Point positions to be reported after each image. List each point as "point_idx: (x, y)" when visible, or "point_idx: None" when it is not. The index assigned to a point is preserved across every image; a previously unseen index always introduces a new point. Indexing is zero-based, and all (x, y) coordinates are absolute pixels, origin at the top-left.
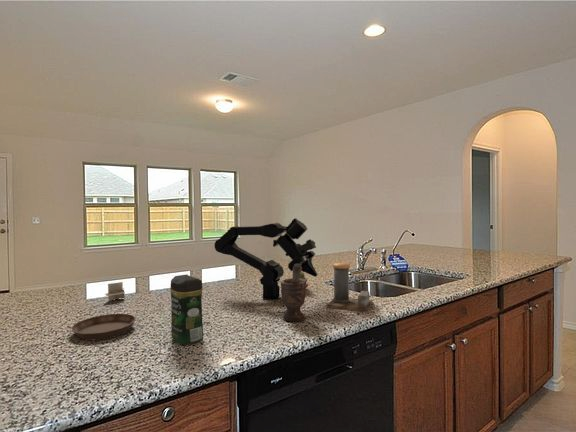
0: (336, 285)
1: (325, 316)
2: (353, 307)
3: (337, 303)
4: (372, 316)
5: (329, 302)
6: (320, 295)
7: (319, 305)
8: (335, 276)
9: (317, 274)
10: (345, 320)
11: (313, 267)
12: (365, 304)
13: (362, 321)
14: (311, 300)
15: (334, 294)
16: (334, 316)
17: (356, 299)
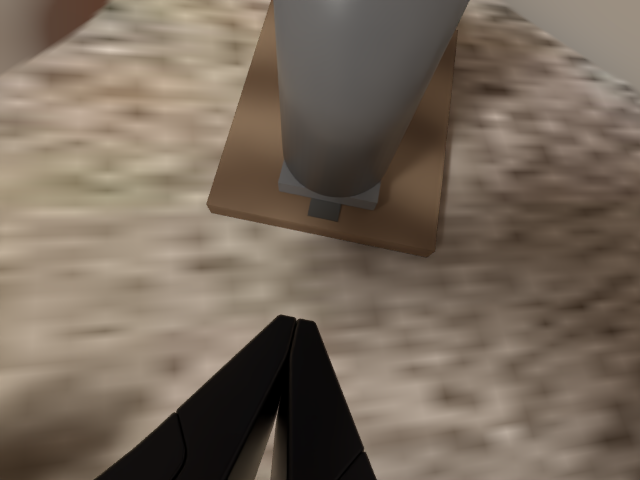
0: (411, 114)
1: (608, 260)
2: (449, 97)
3: (392, 184)
4: (518, 33)
5: (377, 238)
6: (76, 332)
7: (381, 316)
8: (432, 50)
9: (283, 315)
10: (631, 153)
11: (214, 418)
12: None
13: (612, 80)
14: None
15: (363, 180)
16: (587, 209)
17: (270, 70)
